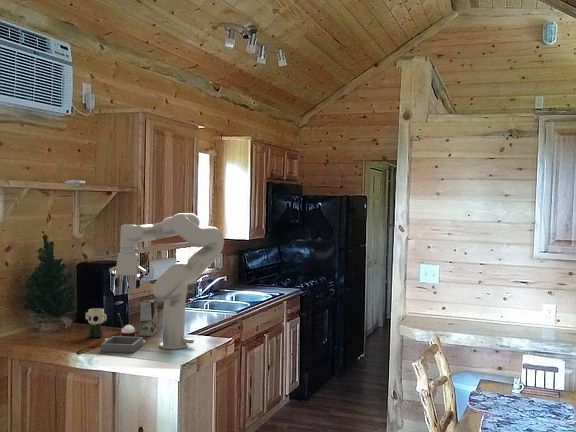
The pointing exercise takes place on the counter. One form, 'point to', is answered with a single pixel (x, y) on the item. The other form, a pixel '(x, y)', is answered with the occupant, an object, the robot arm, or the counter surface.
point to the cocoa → (127, 329)
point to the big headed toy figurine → (96, 321)
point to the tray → (122, 344)
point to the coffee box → (148, 317)
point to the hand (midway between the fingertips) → (127, 287)
